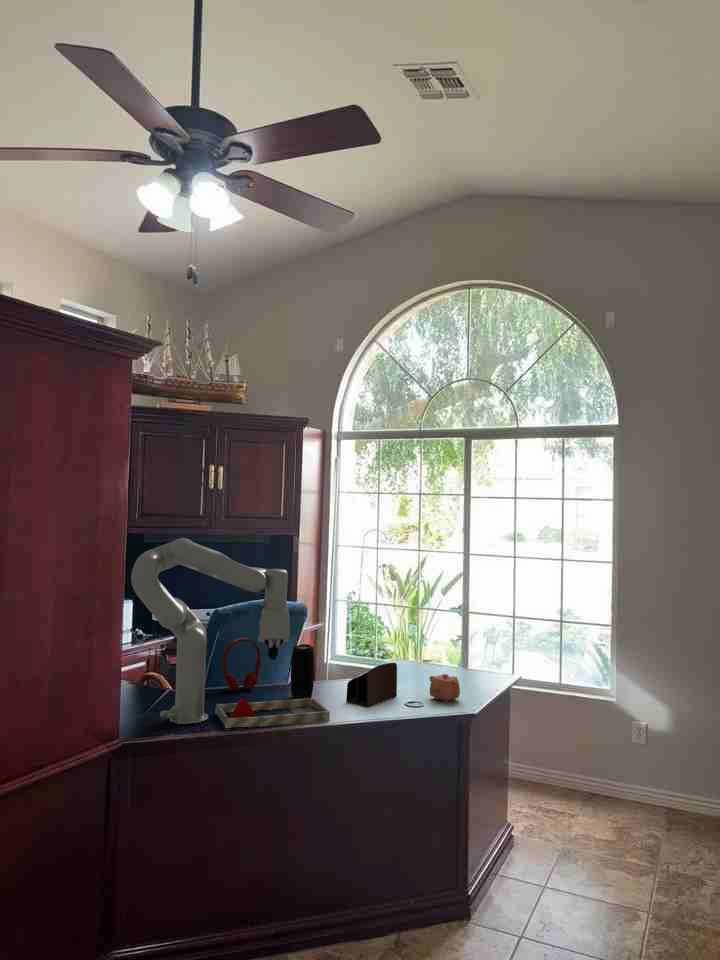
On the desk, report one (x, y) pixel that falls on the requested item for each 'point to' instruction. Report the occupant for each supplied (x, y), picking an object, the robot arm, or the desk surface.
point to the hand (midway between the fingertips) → (272, 658)
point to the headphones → (251, 676)
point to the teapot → (444, 687)
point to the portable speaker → (302, 671)
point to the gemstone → (242, 710)
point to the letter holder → (373, 686)
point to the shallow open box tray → (299, 707)
